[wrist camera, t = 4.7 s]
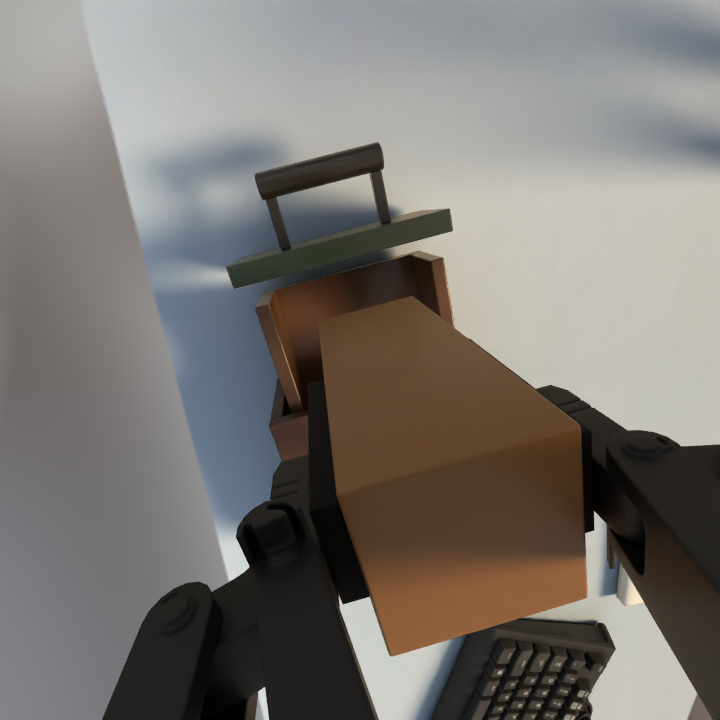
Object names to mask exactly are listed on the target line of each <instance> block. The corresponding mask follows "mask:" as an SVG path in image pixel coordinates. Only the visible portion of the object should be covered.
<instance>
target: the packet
mask: <svg viewBox="0 0 720 720" xmlns="http://www.w3.org/2000/svg"><path fill="white" fill-rule="evenodd" d="M318 327H319V336H320V345H321V355H322V364H323V373H324V383H325V392H326V401H327V411H328V420H329V429H330V439H331V448H332V457H333V467H334V476H335V485H336V495H337V498H338V501H339V504H340V507H341V510H342V513H343V516H344V519H345V522H346V526H347V529H348V532H349V535H350V538H351V541H352V544H353V547H354V550H355V553H356V556H357V559H358V562H359V565H360V568H361V571H362V574H363V577H364V580H365V583H366V586H367V589H368V592H369V596H370V599H371V602H372V605H373V608H374V611H375V614H376V617H377V620H378V623H379V626H380V629H381V632H382V635H383V638H384V641H385V644H386V647H387V650H388V653H389V655H390V656H396V655H399V654H402V653H406V652H409V651H412V650H416V649H419V648H422V647H426V646H429V645H432V644H436V643H439V642H442V641H446V640H449V639H452V638H456V637H459V636H462V635H466V634H469V633H472V632H476V631H479V630H482V629H486V628H489V627H492V626H496V625H499V624H502V623H506V622H509V621H512V620H516V619H519V618H522V617H526V616H529V615H532V614H536V613H539V612H542V611H546V610H549V609H552V608H556V607H559V606H562V605H566V604H569V603H572V602H575V601H579V600H582V599H585V598H586V597H587V572H586V546H585V521H584V495H583V470H582V444H581V427H580V425H579V423H577V422H576V421H575V420H573V419H572V418H571V417H569V416H568V415H567V414H565V413H564V412H563V411H562V410H560V409H559V408H558V407H556V406H555V405H554V404H552V403H551V402H550V401H549V400H547V399H546V398H545V397H543V396H542V395H541V394H539V393H538V392H537V391H536V390H534V389H533V388H532V387H530V386H529V385H528V384H526V383H525V382H524V381H523V380H521V379H520V378H519V377H517V376H516V375H515V374H513V373H512V372H511V371H510V370H508V369H507V368H506V367H504V366H503V365H502V364H500V363H499V362H498V361H497V360H495V359H494V358H493V357H491V356H490V355H489V354H487V353H486V352H485V351H483V350H482V349H481V348H480V347H478V346H477V345H476V344H474V343H473V342H472V341H470V340H469V339H468V338H467V337H465V336H464V335H463V334H461V333H460V332H459V331H457V330H456V329H455V328H454V327H452V326H451V325H450V324H448V323H447V322H446V321H444V320H443V319H442V318H441V317H439V316H438V315H437V314H435V313H434V312H433V311H431V310H430V309H429V308H428V307H426V306H425V305H424V304H422V303H421V302H420V301H418V300H417V299H416V298H415V297H413V296H410V297H406V298H402V299H398V300H395V301H391V302H387V303H384V304H380V305H376V306H372V307H369V308H365V309H361V310H358V311H354V312H350V313H346V314H343V315H339V316H335V317H332V318H328V319H324V320H321V321H318Z"/></svg>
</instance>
